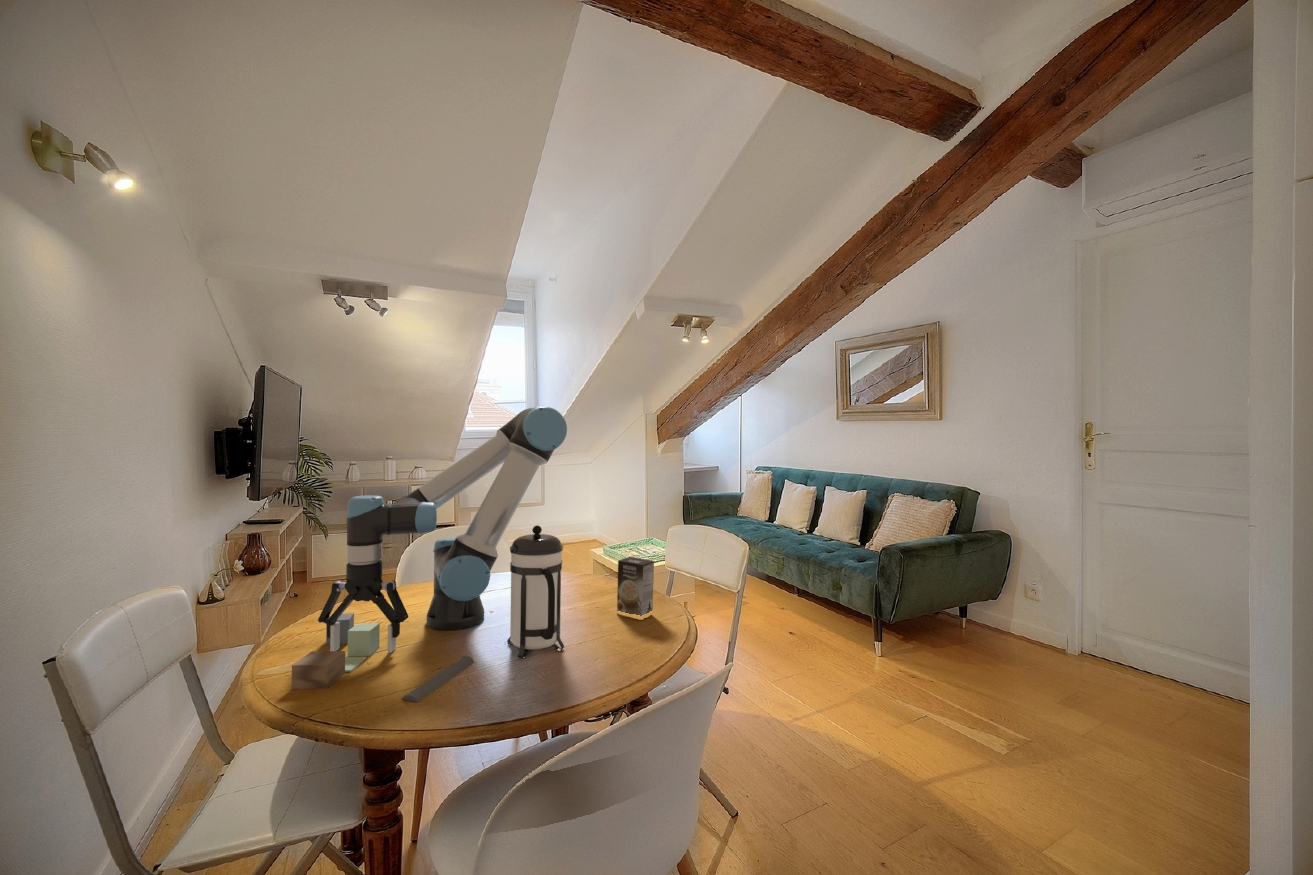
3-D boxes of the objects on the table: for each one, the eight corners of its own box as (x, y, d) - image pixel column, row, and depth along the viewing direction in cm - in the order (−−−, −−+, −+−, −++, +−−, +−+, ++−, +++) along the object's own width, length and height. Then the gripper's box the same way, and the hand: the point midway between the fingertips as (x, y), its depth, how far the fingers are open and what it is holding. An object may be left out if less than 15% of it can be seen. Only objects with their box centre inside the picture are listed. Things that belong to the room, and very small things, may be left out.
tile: (366, 658, 124) (366, 656, 124) (350, 672, 117) (351, 670, 117) (335, 658, 124) (335, 657, 124) (317, 672, 117) (317, 670, 117)
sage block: (379, 647, 131) (379, 623, 130) (369, 656, 126) (369, 630, 125) (358, 648, 130) (358, 623, 130) (347, 656, 125) (347, 630, 125)
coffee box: (615, 615, 156) (616, 560, 156) (628, 609, 162) (629, 556, 162) (641, 621, 151) (642, 564, 151) (654, 615, 157) (654, 560, 157)
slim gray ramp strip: (399, 703, 105) (399, 693, 105) (459, 662, 124) (459, 654, 124) (418, 705, 104) (418, 696, 104) (475, 664, 123) (475, 656, 123)
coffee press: (488, 655, 127) (489, 528, 127) (526, 632, 142) (528, 519, 142) (552, 667, 121) (554, 534, 121) (585, 642, 136) (587, 523, 136)
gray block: (353, 636, 137) (354, 612, 137) (349, 643, 133) (349, 619, 133) (331, 638, 136) (331, 614, 136) (326, 645, 131) (326, 621, 131)
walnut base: (344, 674, 116) (345, 651, 116) (327, 689, 109) (327, 664, 109) (311, 674, 116) (311, 651, 116) (291, 689, 109) (291, 665, 109)
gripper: (423, 557, 132) (422, 644, 132) (320, 557, 131) (318, 645, 131) (411, 565, 125) (409, 657, 125) (301, 564, 123) (300, 657, 123)
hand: (363, 651), depth 128 cm, fingers open, 12 cm apart
